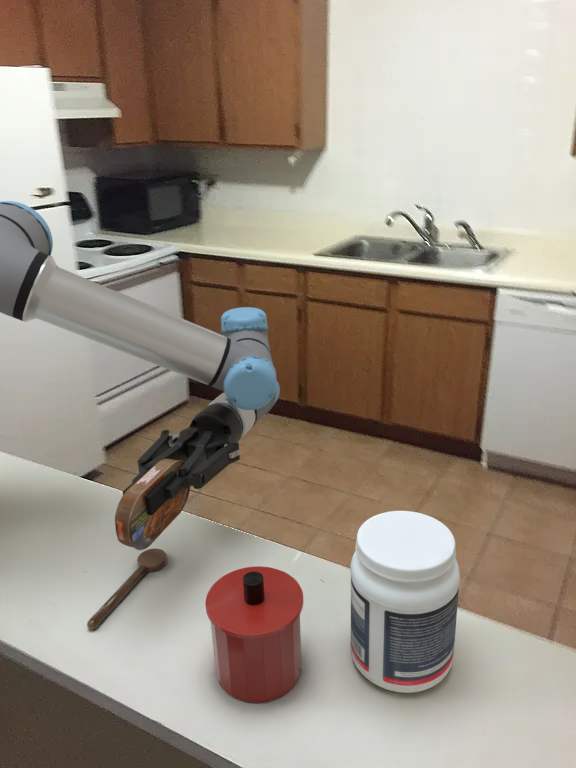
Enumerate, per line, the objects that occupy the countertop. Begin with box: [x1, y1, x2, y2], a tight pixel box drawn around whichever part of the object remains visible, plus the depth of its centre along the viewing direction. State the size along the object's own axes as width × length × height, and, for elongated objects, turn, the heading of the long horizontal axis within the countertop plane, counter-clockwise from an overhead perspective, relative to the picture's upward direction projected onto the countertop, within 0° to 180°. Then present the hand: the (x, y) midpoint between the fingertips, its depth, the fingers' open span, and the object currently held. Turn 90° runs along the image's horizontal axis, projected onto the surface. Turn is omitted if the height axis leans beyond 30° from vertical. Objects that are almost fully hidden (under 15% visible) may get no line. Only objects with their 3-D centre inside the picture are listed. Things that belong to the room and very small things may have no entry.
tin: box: [114, 459, 191, 551], centre depth 90 cm, size 15×3×8 cm, turn 157°
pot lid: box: [205, 565, 304, 639], centre depth 79 cm, size 12×12×4 cm
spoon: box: [86, 548, 168, 631], centre depth 97 cm, size 17×4×1 cm, turn 157°
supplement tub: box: [349, 510, 461, 694], centre depth 81 cm, size 13×13×18 cm
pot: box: [210, 614, 302, 704], centre depth 82 cm, size 11×11×10 cm
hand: (137, 503), depth 86 cm, fingers closed on tin, 3 cm apart
